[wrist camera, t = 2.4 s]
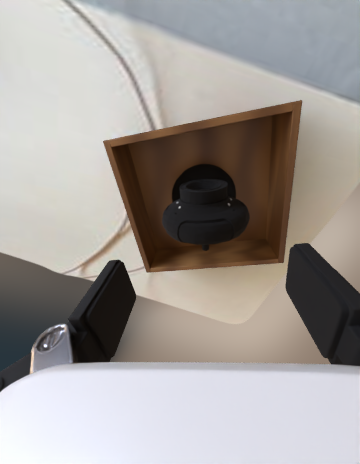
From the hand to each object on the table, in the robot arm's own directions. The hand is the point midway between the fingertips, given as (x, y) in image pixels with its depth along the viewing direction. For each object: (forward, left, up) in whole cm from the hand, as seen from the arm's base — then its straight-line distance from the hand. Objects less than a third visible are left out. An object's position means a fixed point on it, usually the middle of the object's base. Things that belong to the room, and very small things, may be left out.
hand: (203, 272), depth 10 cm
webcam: (0, 0, -14) cm, 14 cm away
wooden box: (0, 0, -14) cm, 14 cm away
